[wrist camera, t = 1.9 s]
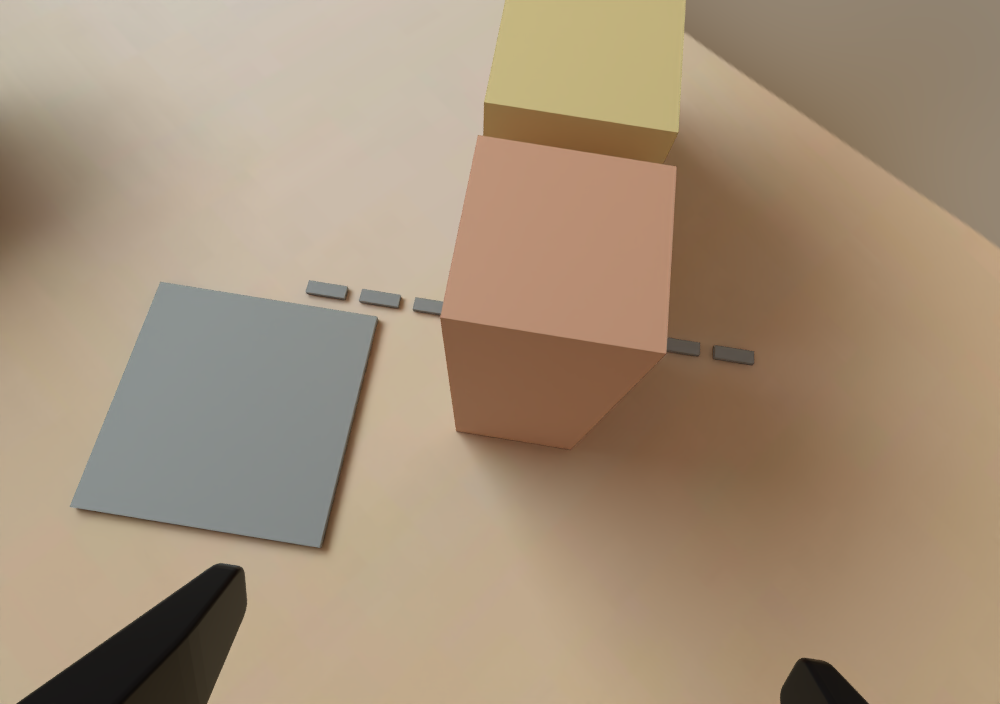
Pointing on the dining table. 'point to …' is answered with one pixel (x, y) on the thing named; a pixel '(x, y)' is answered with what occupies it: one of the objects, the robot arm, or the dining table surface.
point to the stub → (555, 289)
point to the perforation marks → (436, 306)
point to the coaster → (231, 416)
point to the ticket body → (588, 76)
